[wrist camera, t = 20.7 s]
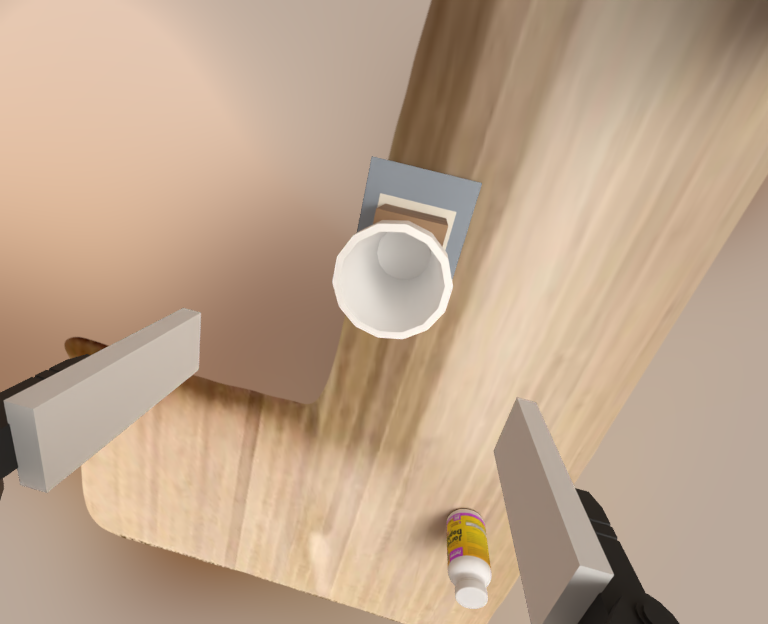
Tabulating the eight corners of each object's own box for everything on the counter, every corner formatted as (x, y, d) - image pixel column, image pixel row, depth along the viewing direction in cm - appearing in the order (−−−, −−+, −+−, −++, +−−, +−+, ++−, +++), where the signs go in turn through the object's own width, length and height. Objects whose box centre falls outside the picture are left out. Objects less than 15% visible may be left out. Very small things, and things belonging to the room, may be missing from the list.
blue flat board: (373, 156, 46) (371, 156, 45) (481, 183, 45) (482, 183, 44) (347, 288, 52) (345, 290, 51) (441, 312, 52) (441, 315, 51)
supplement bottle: (458, 501, 63) (463, 576, 51) (491, 517, 64) (504, 596, 52) (439, 524, 66) (440, 600, 54) (471, 539, 66) (479, 619, 54)
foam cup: (346, 243, 41) (309, 271, 29) (412, 190, 38) (401, 195, 26) (397, 307, 43) (382, 359, 31) (463, 261, 40) (476, 298, 28)
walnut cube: (385, 203, 47) (376, 208, 39) (446, 218, 46) (448, 225, 39) (372, 262, 49) (361, 277, 42) (429, 277, 49) (428, 294, 42)
